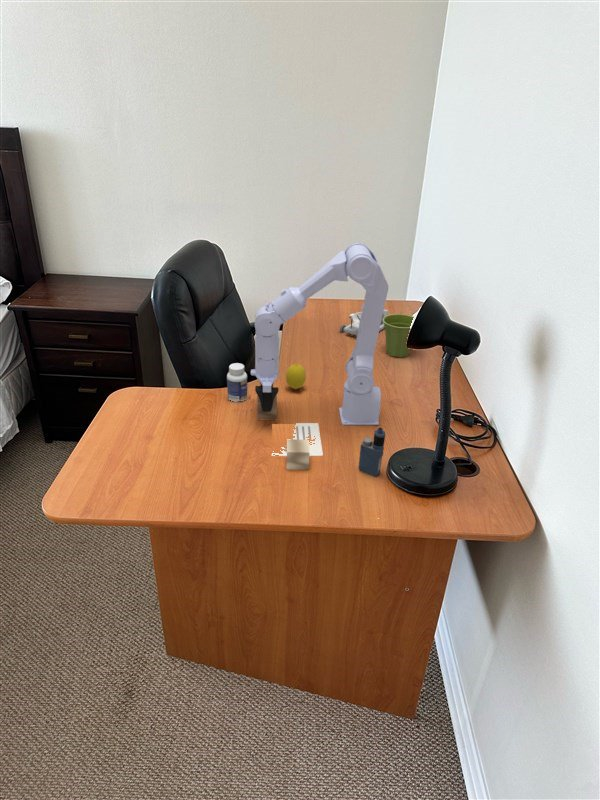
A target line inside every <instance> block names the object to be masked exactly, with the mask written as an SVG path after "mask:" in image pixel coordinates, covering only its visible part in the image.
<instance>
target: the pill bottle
mask: <svg viewBox="0 0 600 800" xmlns="http://www.w3.org/2000/svg"><path fill="white" fill-rule="evenodd" d="M226 386H227V399H228V401H230V400H231V401H230V402H232V401H234V402H233V403H238V402H237V401H243V400H245V399H246V400H247V399H248V374H247V373H246V371H245V365H244V364H243V363H239V362H235V363H231V364H230V365H229V366H228V372H227V374H226ZM246 400H245V401H246ZM243 402H244V401H243Z"/></svg>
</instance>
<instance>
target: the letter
mask: <svg viewBox="0 0 600 800" xmlns="http://www.w3.org/2000/svg"><path fill="white" fill-rule="evenodd" d="M295 423H296V425H295V428H297V430H296V429H295V430H294V429H293V430H294V433H296V434H293V433H292V434H293V436H295V438H292V439H295V440H307V439H310V438H311V440H313V439H315V438H316V439H315V441H310V442H312V443H310V442H309V443H310V444H312V445H310V444H309V450H310V455H309V457H312V456H313V457H315V456H316V457H317V456H318V457H320V456H321V457H322V456H324V453H323V452H324V451H323V446H322V440H321V434H320V425H319V423H318V422H298V423H297V422H295ZM308 433H309V434H308ZM310 435H311V437H310V438H306V437H308V436H310ZM314 436H315V437H314ZM313 443H315V444H313ZM285 446H286V447H287V445H285ZM281 448H282V449H285V450H287V448H284V447H281ZM280 451H281V450H280ZM273 452H274V451H273ZM281 452H282V453H283V454H279V453H272V454H271V457H276V456H275V455H279V456H278V457H287V451H284V450H283V451H281ZM273 454H275V455H273Z"/></svg>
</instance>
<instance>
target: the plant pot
mask: <svg viewBox="0 0 600 800" xmlns="http://www.w3.org/2000/svg"><path fill="white" fill-rule="evenodd" d="M414 317H415V316H412V315H409V314H403V313H392V314H388V315H387V316H385V317H383V319H382V320H383V322H384V328H385V329H384V328H383V329H384V330H385V332H384V333H385V349H386V354H387V355H389V356H391V357H398V358H405V357H408V356H409V355H410V351H411V349H408V348H407V347H406V342H407V337H408V334H409V330H410V326H411V323H412V320H413V318H414Z"/></svg>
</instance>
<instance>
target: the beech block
mask: <svg viewBox="0 0 600 800" xmlns="http://www.w3.org/2000/svg"><path fill="white" fill-rule="evenodd" d="M309 455H310V450H309V440H295V439H287V456H286V470H287V471H289V470H294V471H295V470H296V471H297V470H298V471H300V470H302V471H308V470H309V469H310V456H309Z"/></svg>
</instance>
